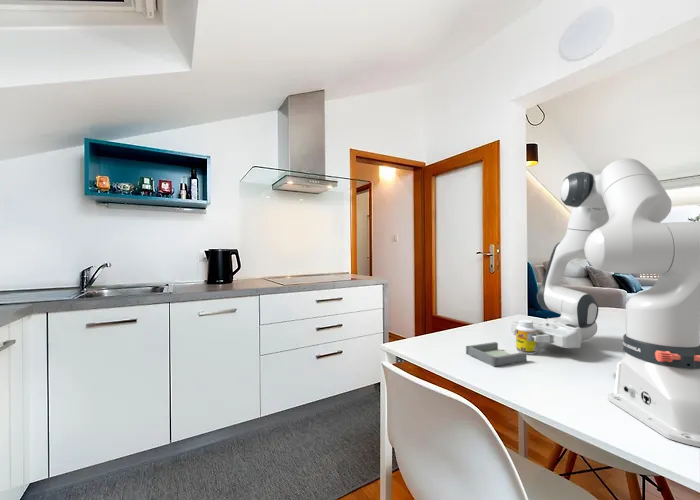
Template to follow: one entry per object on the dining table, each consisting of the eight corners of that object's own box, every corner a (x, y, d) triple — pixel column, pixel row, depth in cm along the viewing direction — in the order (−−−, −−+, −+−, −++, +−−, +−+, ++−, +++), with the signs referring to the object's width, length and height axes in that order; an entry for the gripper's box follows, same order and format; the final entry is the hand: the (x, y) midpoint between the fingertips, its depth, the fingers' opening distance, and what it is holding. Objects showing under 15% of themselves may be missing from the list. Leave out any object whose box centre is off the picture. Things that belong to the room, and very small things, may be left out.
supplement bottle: (513, 349, 103) (512, 319, 103) (529, 349, 103) (529, 318, 103) (522, 355, 98) (522, 323, 97) (540, 355, 98) (539, 322, 97)
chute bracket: (495, 349, 104) (495, 341, 104) (526, 361, 92) (526, 353, 92) (466, 353, 100) (466, 346, 100) (494, 367, 88) (494, 358, 88)
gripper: (527, 315, 114) (498, 319, 110) (586, 329, 95) (553, 333, 90) (528, 332, 114) (498, 336, 110) (586, 349, 95) (553, 355, 90)
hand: (523, 335), depth 100 cm, fingers closed on supplement bottle, 6 cm apart
